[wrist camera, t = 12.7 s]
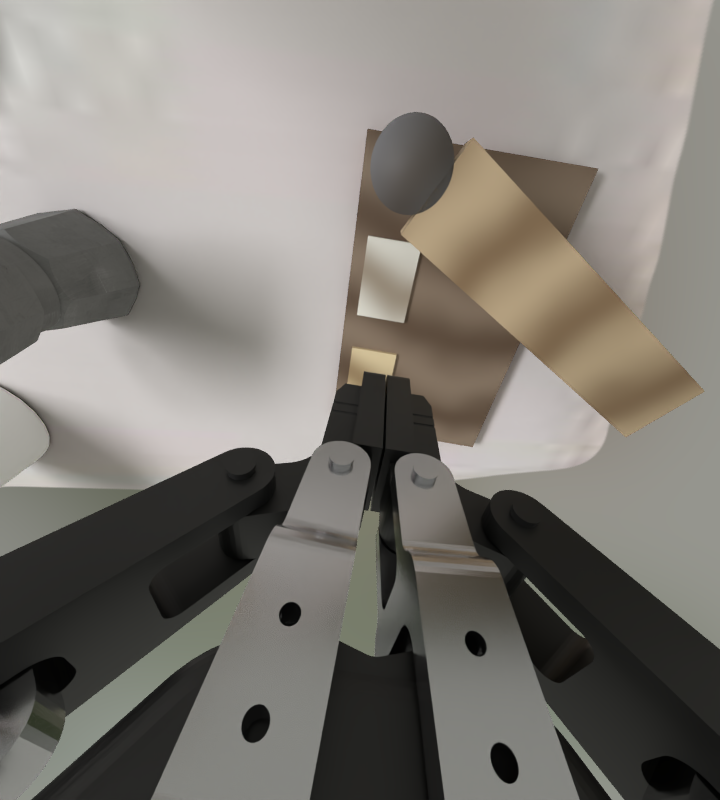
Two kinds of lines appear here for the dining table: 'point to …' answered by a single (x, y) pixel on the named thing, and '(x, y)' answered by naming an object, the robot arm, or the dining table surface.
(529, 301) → the swing arm
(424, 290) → the label board
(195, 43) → the dining table surface
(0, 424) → the white jar
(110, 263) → the coffeepot
